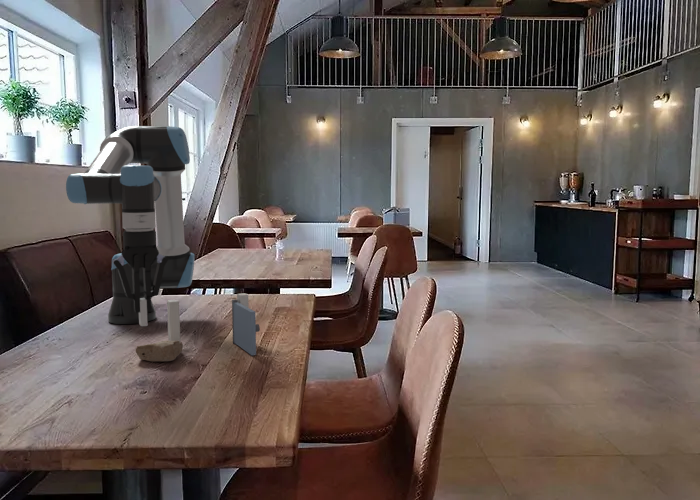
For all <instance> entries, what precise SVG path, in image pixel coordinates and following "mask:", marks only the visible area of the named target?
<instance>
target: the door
mask: <svg viewBox="0 0 700 500" xmlns="http://www.w3.org/2000/svg"><path fill="white" fill-rule="evenodd" d="M248 307H249V306H248ZM248 307H246V306H244V305H242V304H240V303H238V300H237V298H235V299H231V313H232V314H231V316H232V318H231V319H232V320H231V321H232V323H231V324H232V344H233V345H237V346H238V347H239V348H241V349H242V350H244V351H245V352H246V353H248V354H249V355H250V356H256V355H257V335H256V334H257V333H258V332H260V331H261V330H260V328H261V327H260V324H258V323H257V322H256V321H257V320H256V311H255V310H253V309H251V308H250V307H249V308H248ZM256 323H257V324H256Z"/></svg>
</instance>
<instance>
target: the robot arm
mask: <svg viewBox="0 0 700 500" xmlns="http://www.w3.org/2000/svg"><path fill="white" fill-rule="evenodd" d="M185 132H186V131H185V130H184V129H183V128H181V127H177V126H170V125H166V126H165V125H152V126H151V125H132V126H131V125H130V126H126V127H123V128H120V129H118V130H116V131H114V132H112V133H110V134H109V135H107V136H106V137H105V138H104V140H102V142H101V143H100V146H99V153H98V154H97V155H96V156H95V158H94V159H93V161H92V162H91V163H90V164H89V166H88V167H87V169H86V170H85V172H84V173H81V172H79V173H71V174H69V175H68V176H67V178H66V182H65V191H66V196H67V199H68V200H69V202H70V203H72V204H83V205H92V204H93V205H95V204H96V205H97V204H102V205H103V204H121V212H122V213H121V214H122V222H121V223H122V229H124V231H123V232H122V240H123V243H122V244H123V249H122V251H121V253H117V254H114V255H113V256H112V258H111V269H110V270H111V278H112V279H111V283H112V285H111V286H112V300H111V303H110V307H109V311H108V313H107V319H108V322H109V323H111V324H116V325H133V324H139V326H140V327H147V326H148V325H149V324H148V322H151V321H153V320H156V319H157V314H156V313H157V312H156V309H155V306H154V303H153V301H152V298H153V297H156V296H158V295H159V293H160V289H179V288H187V287H190V286H191V285H192V282H193V276H194V267H195V260H196V259H195V253H193V252H190V250H191V249H190V247H189V246H188V245H187V244H185V243H186V242H185V225H184V208H183V207H184V206H183V191H182V188H183V187H182V174H183V173H184V171H185V170H186V165H188V164H190V163H191V162H190V161H191V159H190V157H191V156H190V149H189V142H188V139H187V134H186V133H185ZM129 164H132V165H129ZM133 164H136V165H133ZM137 164H146V165H137ZM155 228H156V231H155Z"/></svg>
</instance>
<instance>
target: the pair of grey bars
mask: <svg viewBox="0 0 700 500" xmlns="http://www.w3.org/2000/svg"><path fill="white" fill-rule="evenodd" d="M236 299H237V300H238V303H240V304H242V305H244V306H246V307H248V308H249V309H250V307H249V294H248V293H243V292H242V293H236ZM166 307H167V308H166V312H167V313H166V315H167V339H168V340H167V341H176V340H178V341H179V342H181V324H180V323H181V321H180V320H181V317H180V301H179V300H178V299H169V300H166Z"/></svg>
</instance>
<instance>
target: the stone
mask: <svg viewBox="0 0 700 500" xmlns="http://www.w3.org/2000/svg"><path fill="white" fill-rule="evenodd" d="M183 346H184V344H183V342H182V341H180V342H179V341H178V340H176V341H168V340H161V341H158V342H154V343H153V342H152V343H148V344H143V345H137V346H136V348H135V353H136V355H137V357H138V359H139V360H141V361H147V362H171V361H174V360H176V358H177V357H178V356H179V355H180V354H181V353H182V352H183Z"/></svg>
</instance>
